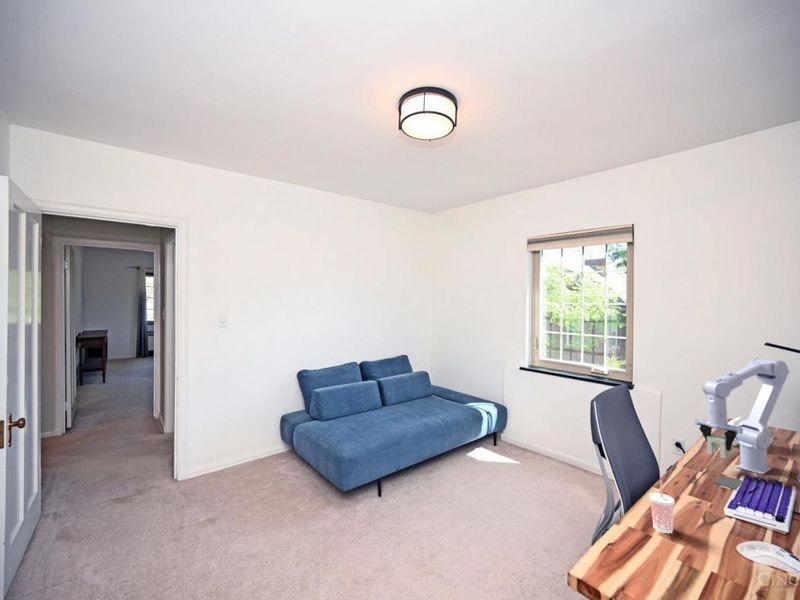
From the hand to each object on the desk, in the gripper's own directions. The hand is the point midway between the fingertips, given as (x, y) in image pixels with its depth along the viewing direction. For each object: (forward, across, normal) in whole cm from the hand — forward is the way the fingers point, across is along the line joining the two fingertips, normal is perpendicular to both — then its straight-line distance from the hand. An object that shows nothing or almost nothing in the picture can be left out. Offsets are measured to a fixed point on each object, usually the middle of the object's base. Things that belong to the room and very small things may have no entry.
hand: (718, 447), depth 147 cm
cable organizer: (+10, -4, +43) cm, 45 cm away
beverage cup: (+9, +7, -61) cm, 62 cm away
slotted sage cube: (+3, 0, 0) cm, 3 cm away
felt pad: (+9, +8, -9) cm, 15 cm away
